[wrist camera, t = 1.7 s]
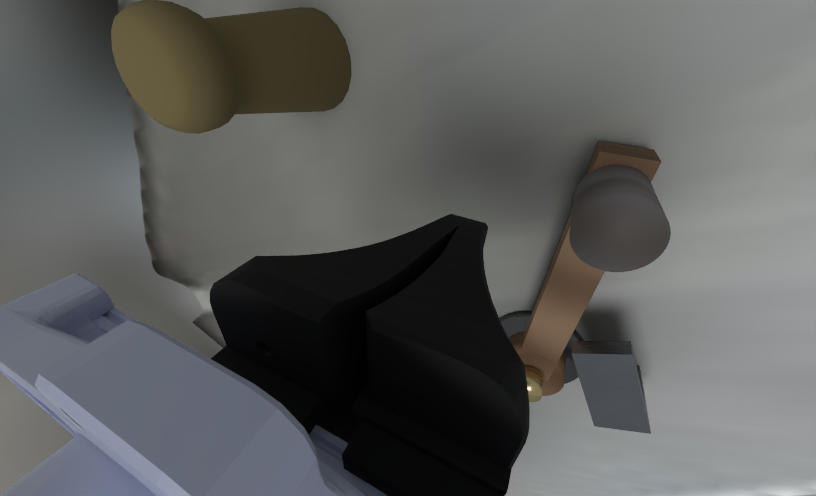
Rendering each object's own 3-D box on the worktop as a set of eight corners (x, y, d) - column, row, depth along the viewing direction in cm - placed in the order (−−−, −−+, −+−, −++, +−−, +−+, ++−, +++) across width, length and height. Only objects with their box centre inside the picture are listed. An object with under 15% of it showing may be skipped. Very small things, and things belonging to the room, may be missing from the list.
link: (555, 382, 25) (547, 457, 20) (499, 360, 26) (481, 425, 22) (678, 153, 15) (719, 202, 10) (577, 137, 16) (572, 174, 12)
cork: (364, 42, 19) (193, 41, 11) (335, 128, 23) (193, 175, 15) (288, -15, 20) (65, -58, 11) (271, 79, 24) (98, 99, 15)
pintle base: (489, 363, 28) (476, 406, 25) (492, 302, 25) (477, 342, 22) (577, 388, 25) (576, 441, 22) (594, 323, 22) (595, 374, 19)
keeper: (593, 375, 24) (594, 426, 21) (573, 308, 22) (571, 353, 19) (642, 378, 22) (651, 433, 19) (625, 305, 20) (632, 354, 17)
